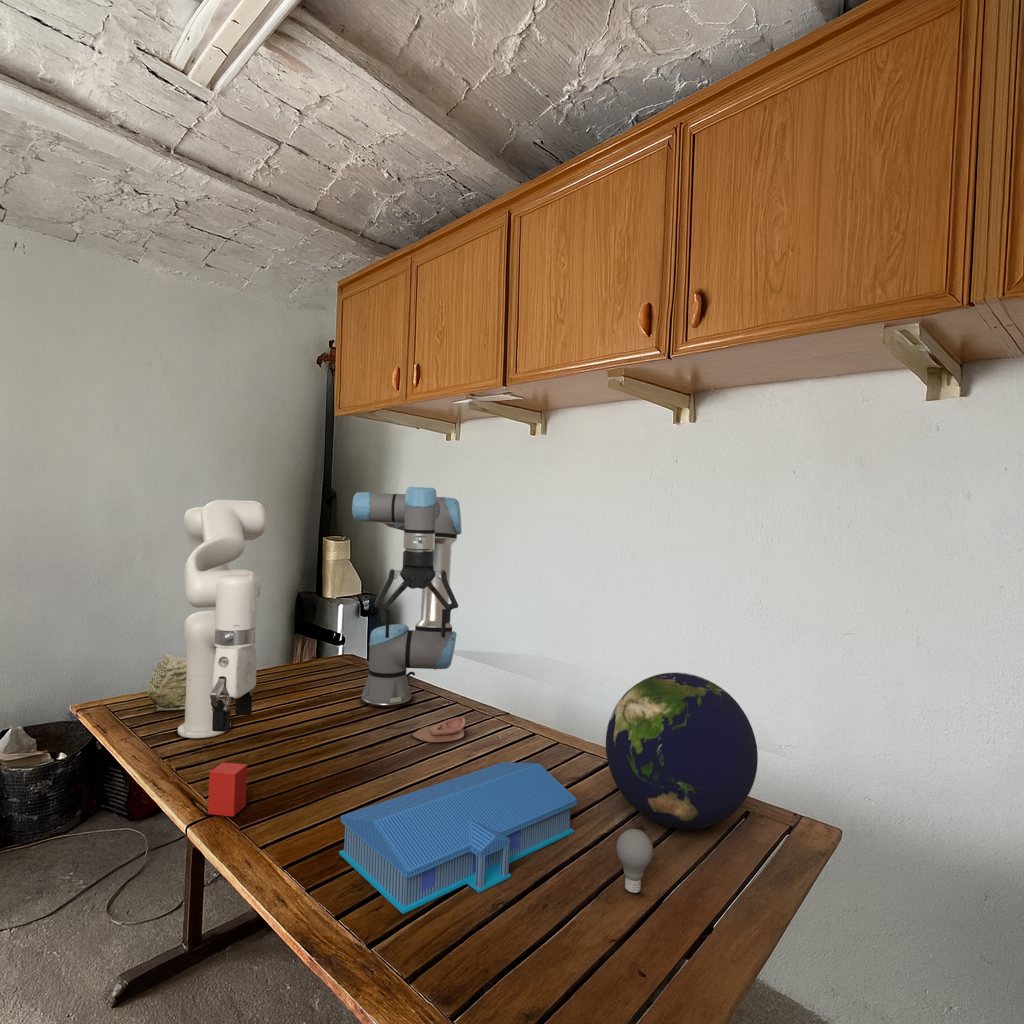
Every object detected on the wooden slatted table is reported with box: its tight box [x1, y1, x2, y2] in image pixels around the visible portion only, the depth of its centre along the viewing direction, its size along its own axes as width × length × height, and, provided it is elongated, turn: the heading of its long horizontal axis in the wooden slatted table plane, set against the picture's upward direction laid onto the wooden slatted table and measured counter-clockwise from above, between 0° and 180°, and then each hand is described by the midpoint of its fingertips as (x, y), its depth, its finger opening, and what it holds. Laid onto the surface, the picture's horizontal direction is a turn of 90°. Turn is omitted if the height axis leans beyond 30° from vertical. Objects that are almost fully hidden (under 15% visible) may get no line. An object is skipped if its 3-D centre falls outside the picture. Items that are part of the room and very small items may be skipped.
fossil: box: [147, 654, 187, 712], centre depth 185 cm, size 9×18×15 cm, turn 132°
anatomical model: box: [412, 716, 466, 743], centre depth 171 cm, size 13×4×12 cm
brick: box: [207, 761, 248, 818], centre depth 127 cm, size 5×5×8 cm
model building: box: [338, 761, 578, 915], centre depth 117 cm, size 39×24×10 cm, turn 132°
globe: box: [605, 671, 759, 831], centre depth 130 cm, size 30×30×30 cm
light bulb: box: [615, 828, 654, 894], centre depth 106 cm, size 6×6×10 cm
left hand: (232, 722), depth 126 cm, fingers open, 9 cm apart
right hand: (415, 636), depth 155 cm, fingers open, 13 cm apart
